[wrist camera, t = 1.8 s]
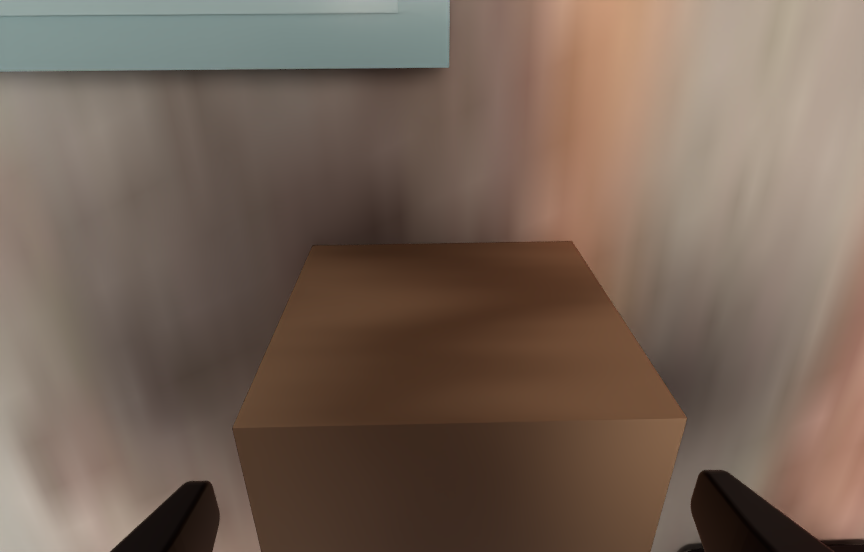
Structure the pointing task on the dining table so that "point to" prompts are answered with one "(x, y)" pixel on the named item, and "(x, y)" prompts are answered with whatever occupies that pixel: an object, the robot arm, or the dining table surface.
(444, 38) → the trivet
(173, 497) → the robot arm
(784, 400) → the dining table surface
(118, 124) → the dining table surface
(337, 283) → the walnut cube
